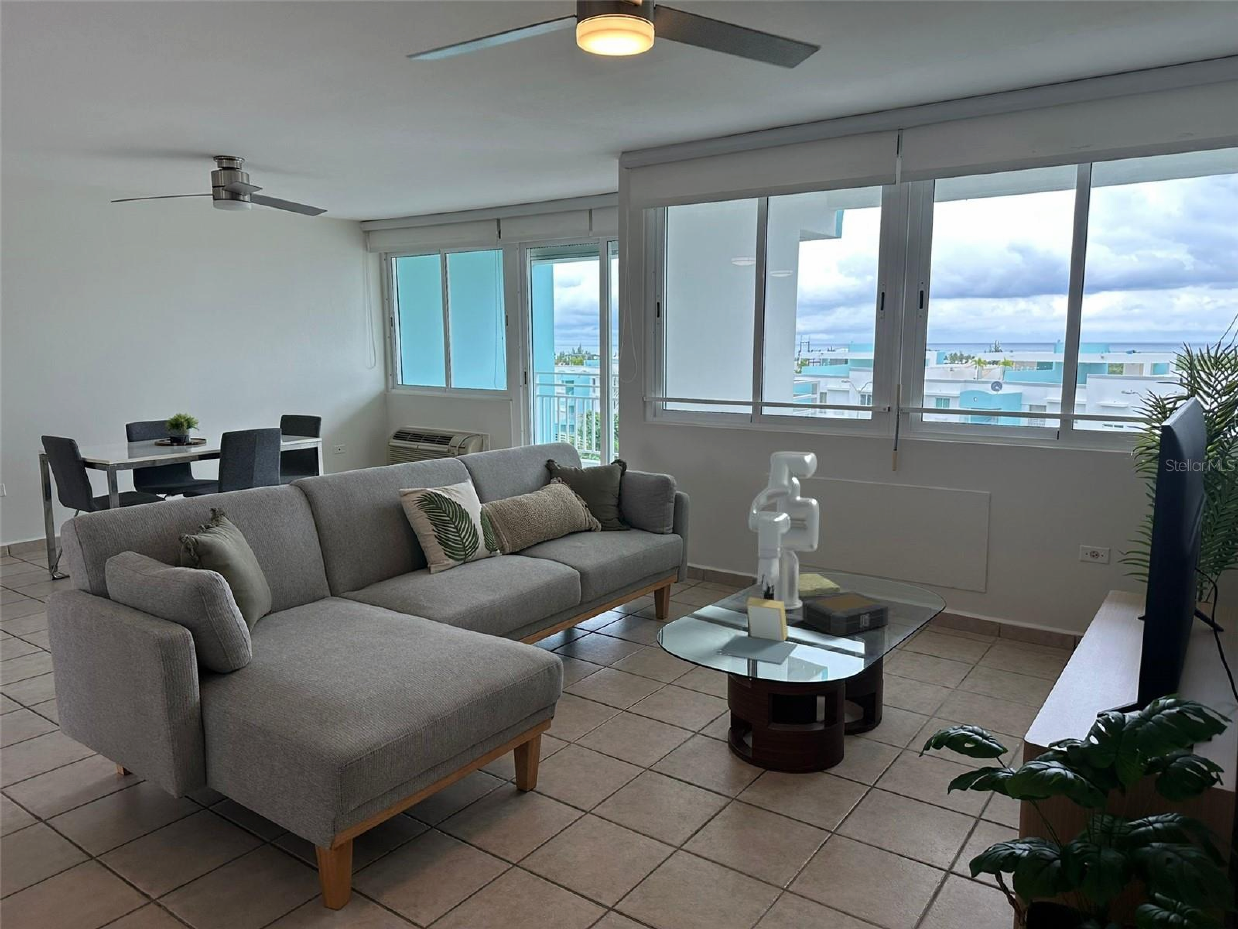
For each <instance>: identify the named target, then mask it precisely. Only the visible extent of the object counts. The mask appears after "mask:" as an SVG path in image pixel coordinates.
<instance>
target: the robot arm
mask: <svg viewBox="0 0 1238 929" xmlns="http://www.w3.org/2000/svg"><path fill="white" fill-rule="evenodd" d="M769 462H770V466H771V467H770V471H769V477H768V484H767V487H766V488H764V489H763V490H761V491H760V492H759V493H758V494H757V496H756V497H754V499H753V500H752V504H751V507H750V512H749V515H748V526H749V527H748V528H749V529H750V530H751V531H752V532H755V533H757V534H758V544H757V545H758V548H757V550H758V552H757V553H758V554H757V556H758V558H759V559H758V567H757V581H756V582H757V586H759V587H760V586H762V591H763V599H767V600H774V601H782V602H784V607H785V610H798V609H800V608H801V607H803V601H802V600H801V599H799V596H798V585H799V575H800V574H799V569H800V568H799V567H800V566H799V565H800V563H799V558H798V556H797V555H796V554H795V551H796V552H814V551H816V550H817V548H818V545H819V531H820V529H819V526H820V507H819V506H820V504H819V502H818V501H817V500H816V499H814V498H811V497H801V483H800V481H799V480H798V479H809V478H811V477H812V476H813V475H814V473H815V471H817V466H818V460H817V456H816V454H815V453H813V452H809V451H808V452H807V451H787V450H786V451H783V450H782V451H775V452H773V453H772V454H771V455H770V460H769ZM773 503H776V511H768V510H767V511H766V510H762V509H763V508H764V507H766V506H768V505H770V504H773ZM792 523H804V524H805V525H806V526H805V525H793V524H792Z"/></svg>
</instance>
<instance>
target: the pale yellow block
mask: <svg viewBox="0 0 1238 929" xmlns="http://www.w3.org/2000/svg"><path fill="white" fill-rule="evenodd" d="M746 608H747V617H748V624H749V632H750V633H749V634H750V637H754V638H760V639H766V640H773V641H779V642H786V641H785V640H786V639H787V637H788V627H787V619H786V618H787V617H786V609H785V607H784V602H782V601H774V600H767V599H764V598H759V597H758V598H757V597H749V599H748V601H747V602H746Z"/></svg>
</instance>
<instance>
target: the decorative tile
mask: <svg viewBox="0 0 1238 929" xmlns="http://www.w3.org/2000/svg"><path fill="white" fill-rule="evenodd" d="M831 592H840V593H841V586H839V585H837V583H834V582H833V581H831V580H829V579H828V578H826V577H824V576H821V575H820V574H818V573H802V574H799V585H798V597H800V596H804V597H811V596H819V595H818V594H822V595H826V594H825V593H831ZM831 594H832V593H831Z"/></svg>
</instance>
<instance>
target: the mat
mask: <svg viewBox="0 0 1238 929" xmlns="http://www.w3.org/2000/svg"><path fill="white" fill-rule="evenodd" d="M797 646H798V644H797V643H791V642H786V641H784V642H782V641H775V640H769V639H763V638H757V637H751V636H747V635H746V636H745V635H740V634H735V635H733V637H731V638H730V639H729V641H727V642H726V643H725V644H724V645H723V646H722V647H721V648H719V650H721V651H719V650H717V652H716V654H717V653H722V654H721V655H723V654H730V655H733V656H732V657H735V656H738V657H737V658H740V657H744V658H743V659H746V658H747V659H748V660H751V661H759V662H765V663H771V664H776V665H782V664H783V663H784V662H785V661H786V660H787V658H788V657H789V656H790V655H791V653H792V652H793V651H794V650H795V649H796V648H797Z"/></svg>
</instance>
